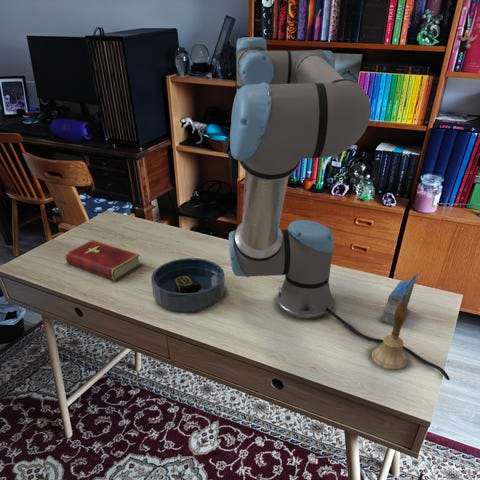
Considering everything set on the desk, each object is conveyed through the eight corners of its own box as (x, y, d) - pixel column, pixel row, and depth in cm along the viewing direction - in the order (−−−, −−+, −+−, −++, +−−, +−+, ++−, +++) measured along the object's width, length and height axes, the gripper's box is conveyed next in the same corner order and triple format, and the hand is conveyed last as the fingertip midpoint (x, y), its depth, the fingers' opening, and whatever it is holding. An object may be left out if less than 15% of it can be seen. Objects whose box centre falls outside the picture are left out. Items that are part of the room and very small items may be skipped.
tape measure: (202, 293, 127) (201, 282, 125) (180, 300, 124) (179, 289, 122) (192, 283, 132) (191, 272, 130) (170, 289, 129) (169, 278, 127)
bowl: (239, 294, 128) (239, 277, 125) (180, 322, 117) (178, 303, 114) (197, 268, 141) (195, 251, 137) (140, 291, 130) (137, 273, 126)
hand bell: (372, 344, 109) (384, 289, 100) (407, 350, 107) (423, 295, 98) (370, 366, 103) (383, 309, 94) (407, 373, 101) (424, 316, 92)
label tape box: (393, 306, 123) (402, 267, 116) (407, 311, 121) (418, 271, 114) (381, 321, 117) (390, 281, 110) (396, 326, 115) (407, 286, 108)
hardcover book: (114, 282, 134) (111, 269, 132) (67, 264, 143) (64, 252, 141) (141, 265, 142) (139, 253, 140) (95, 250, 151) (92, 238, 149)
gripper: (295, 111, 112) (290, 192, 125) (230, 98, 127) (231, 172, 140) (275, 115, 108) (271, 199, 121) (210, 101, 123) (213, 177, 136)
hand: (250, 184), depth 130 cm, fingers open, 13 cm apart
